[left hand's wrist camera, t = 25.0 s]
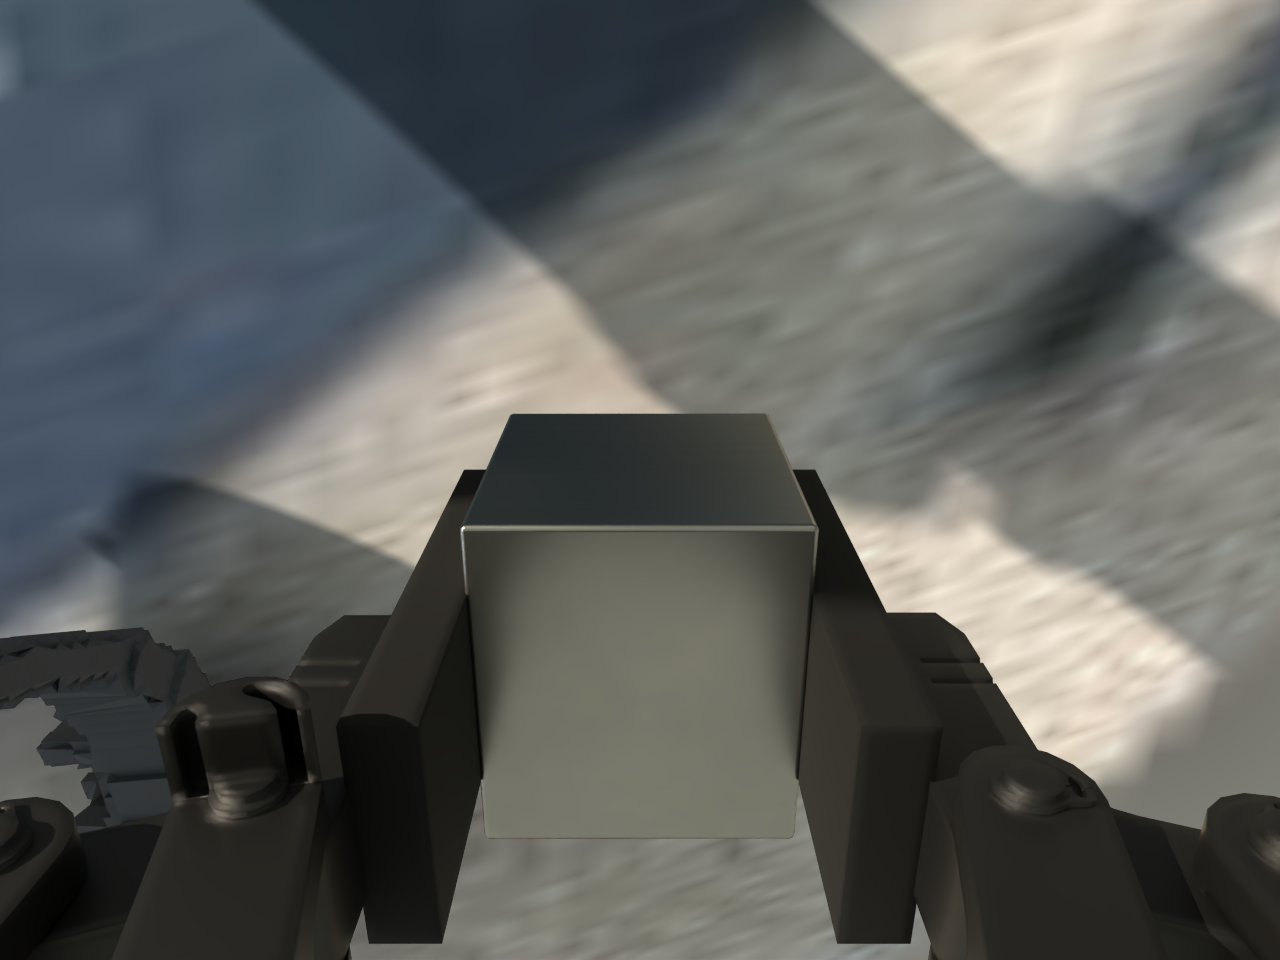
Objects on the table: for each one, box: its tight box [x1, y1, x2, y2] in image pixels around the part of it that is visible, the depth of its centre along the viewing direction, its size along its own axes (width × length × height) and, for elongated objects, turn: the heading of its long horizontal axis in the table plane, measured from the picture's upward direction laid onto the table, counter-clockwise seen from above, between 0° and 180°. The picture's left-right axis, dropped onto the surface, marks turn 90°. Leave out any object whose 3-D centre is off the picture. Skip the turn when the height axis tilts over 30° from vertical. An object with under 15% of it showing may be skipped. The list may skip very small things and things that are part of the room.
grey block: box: [460, 414, 819, 839], centre depth 13 cm, size 4×5×4 cm
